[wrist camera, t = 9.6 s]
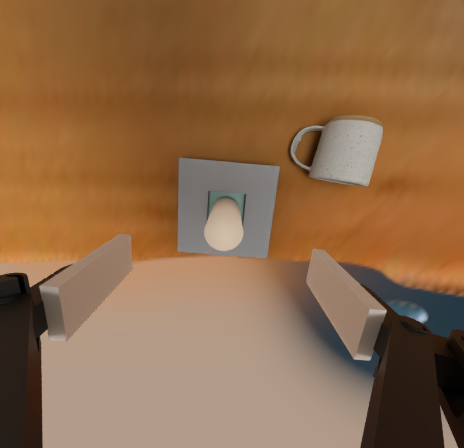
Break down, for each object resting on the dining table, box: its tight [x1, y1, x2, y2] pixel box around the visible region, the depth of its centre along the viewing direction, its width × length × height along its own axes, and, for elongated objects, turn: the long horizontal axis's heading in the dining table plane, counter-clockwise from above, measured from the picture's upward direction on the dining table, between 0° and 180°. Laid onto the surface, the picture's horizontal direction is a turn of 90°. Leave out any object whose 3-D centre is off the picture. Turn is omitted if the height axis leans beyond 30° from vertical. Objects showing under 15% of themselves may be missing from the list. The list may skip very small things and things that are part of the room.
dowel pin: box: [204, 196, 243, 251], centre depth 28 cm, size 4×4×12 cm
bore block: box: [177, 158, 280, 258], centre depth 33 cm, size 14×14×4 cm
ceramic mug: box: [290, 115, 383, 186], centre depth 29 cm, size 11×8×8 cm
